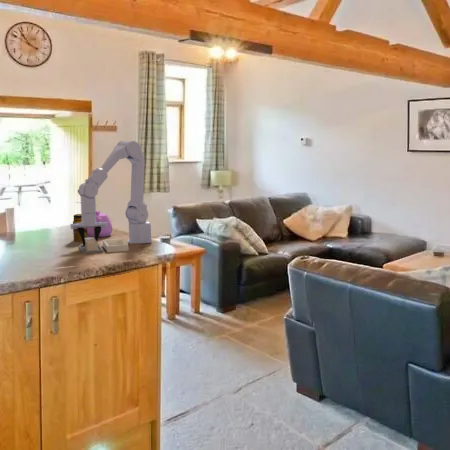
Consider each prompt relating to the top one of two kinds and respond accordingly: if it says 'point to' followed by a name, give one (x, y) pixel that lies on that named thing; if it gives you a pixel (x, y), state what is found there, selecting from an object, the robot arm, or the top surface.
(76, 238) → the condiment
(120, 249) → the cream dish
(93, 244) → the beige cube
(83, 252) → the slate tray
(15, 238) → the top surface
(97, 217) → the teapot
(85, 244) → the light gray cube
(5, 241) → the top surface
